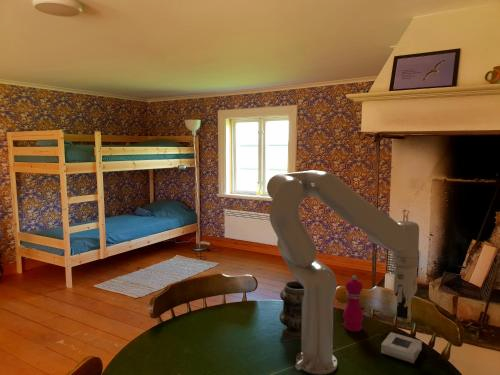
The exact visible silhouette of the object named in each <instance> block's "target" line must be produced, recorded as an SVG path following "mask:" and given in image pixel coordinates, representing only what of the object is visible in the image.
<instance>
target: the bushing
mask: <svg viewBox="0 0 500 375" xmlns="http://www.w3.org/2000/svg"><path fill="white" fill-rule="evenodd" d="M402 296H404V295H402ZM402 300H405V299H402ZM407 306H408V318H407V319H404V318H400V317H397V316H396V317H397V318H396V319H397V321H399V322H402V323H410V322H411V320H412V312H411V298H410V299H408V298H407Z"/></svg>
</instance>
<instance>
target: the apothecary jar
mask: <svg viewBox="0 0 500 375" xmlns="http://www.w3.org/2000/svg"><path fill="white" fill-rule="evenodd" d="M279 296H280V299H281V300H282V301H283V302H282V303H283V307H282V310H281V311H280V313H279V321H280V323H282V325H283V326H284V327H283V328H282V331H281V332H282V334H283V336H284V337H287V338H289V339H293V340H301V330H302V301H303V297H304V287H303V286H302V285H301V284H300V283H299V282H298V281H297V280H290V281H287V282H285V284H284V288H283V289H281V291H280V292H279Z"/></svg>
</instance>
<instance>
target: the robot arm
mask: <svg viewBox="0 0 500 375" xmlns="http://www.w3.org/2000/svg"><path fill="white" fill-rule="evenodd" d="M266 192H267V195H268V196H269V197H270V199H272V201H271V203H270V208H269V221H270V225H271V228H272V229H273V231H274V233H275V235H276V237H277V241H276V242H277V243H276V244H277V249H278V253H279V254H280V256H281V257H282V259H283V261H284V263H285V264H286V266H287V267H288V269H289V271H290V272H291V275H292V276H293V277H294V279H295V281H298V282H299V283H300V284H301V285H302V286H303V287H304V297H303V301H302V330H301V339H300V340H301V341H300V343H301V345H300V347H301V350H300V351H299V352H298V353H297V354H296V358H295V364H294V365H295V366H294V367H295V369H296V370H297V371H301V370H302V371H304V372H306V373H308V374H312V375H327V374H331V373H333V372H335V370H336V369H337V368H338V359H337V357H336V356H335V355H334V354H333V343H334V342H333V341H334V340H333V339H334V338H333V337H334V335H333V334H334V303H335V296H336V292H337V287H338V286H337V282H338V281H337V277H336V275H335V273H334V271H333V270H332V269H331V268H330V266H327V265H326V264H325V263H323V262H322V261H320V260H319V259H318V258H317V256H318V249H317V246H316V244H315V242H314V240H313V238H312V237H311V235H310V233H309V232H308V230H307V228H306V227H305V225H304V223H303V221H302V219H301V217H300V206H301V205H302V204H301V203H302V201H303V199H304V198H310V197H312V198H314V199H317V200H318V201H320V202H321V203H323V204H324V205H325V206H326V207H327V208H329V209H330V210H331V211H333V212H334V213H335V214H336V215H337V216H339V217H340V218H342V219H343V220H344V221H345V222H347V223H349V224H350V225H352V226H354V227H356V228H359V229H360V230H363V231H364V232H366V235H367V236H366V237H367V238H368V240H369V241H370V242H371V243H373V244H375V245H376V246H379V247H382V248H385V249H386V250H388V251H391V252H392V264H393V266H395V267H394V268H395V269H394V277H393V278H394V282H393V293H394V296H395V297H396V317H400V318H404V319H407V318H408V306H407V298H408V299H410V298H411V313H412V312H413V310H412V305H413V301H412V300H413V297H414V296H415V294H416V293H417V291H418V271H417V270H418V269H417V268H418V267H419V249H420V248H419V247H420V246H419V245H420V226H419V224H418V223H417V222H415V221H409V220H400V221H396V220H394V219H393V218H392V217H390V216H389V215H388V214H386V213H385V212H384V211H382V210H380V209H379V208H377V207H376V206H374V205H373V204H372V203H371V202H369V201H367V200H366V199H364V198H363V197H362V196H360V195H359V194H358V193H357V192H356V191H354V190H353V189H352V188H350V186H348V185H347V184H346V183H345V182H343V181H342V180H341V179H339V177H337V176H336V175H334V173H331V172H328V171H325V170H316V169H315V170H313V169H312V170H305V171H299V172H296V171H295V172H289V173H288V172H287V173H280V174H279V173H278V174H275V175H273V176H272V177H270V179H269V180H268V182H267V185H266ZM402 295H404V296H402ZM402 299H405V300H402Z"/></svg>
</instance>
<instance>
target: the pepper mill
mask: <svg viewBox="0 0 500 375" xmlns="http://www.w3.org/2000/svg"><path fill="white" fill-rule="evenodd" d="M345 289H346V291H347V292H346V296H347V304H346V305H345V308H344V310H343V313H342V318H343V319H344V324H343V326H344V328H345V329H346V330H347V331H349V332H360V331H362V326H363V325H362V322H363V320H364V313H363V310H362V309H361V305H360V298H361V295H362V293H361V292H362V291H363V284H362V281H361V280H359V279H358V277H357V275H356V274H355V275H352V276H351V278H350V279H348V280H347V281H346V283H345Z"/></svg>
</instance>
